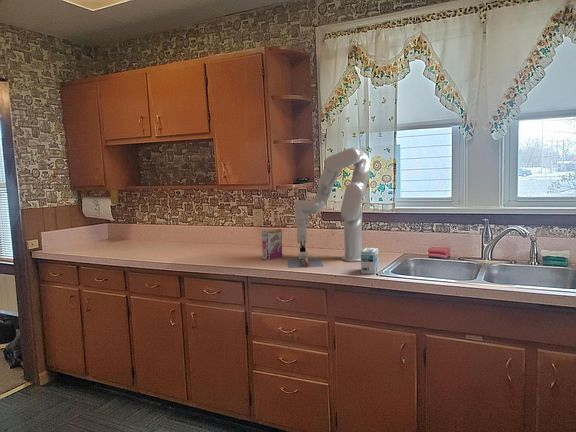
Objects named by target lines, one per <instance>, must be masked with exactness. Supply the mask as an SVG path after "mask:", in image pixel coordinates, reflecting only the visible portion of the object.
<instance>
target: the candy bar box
mask: <svg viewBox="0 0 576 432" xmlns="http://www.w3.org/2000/svg"><path fill="white" fill-rule="evenodd" d="M282 234H283V231H282V229H279V228H272V229H265V230H262V231H261V249H262V252H261V254H262V260H264V261H268V260H273V259H277V258H282V257H283V235H282Z"/></svg>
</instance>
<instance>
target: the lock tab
mask: <svg viewBox="0 0 576 432" xmlns="http://www.w3.org/2000/svg"><path fill="white" fill-rule="evenodd" d="M304 256H305V257H307V259H308V258H309V254H308V251H306V252H300V251H299V252H298V258H299V259H301V257H304Z"/></svg>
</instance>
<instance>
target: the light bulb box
mask: <svg viewBox="0 0 576 432" xmlns="http://www.w3.org/2000/svg"><path fill="white" fill-rule="evenodd" d="M379 254H380V253H379V248H378V247H376V248H375V247H365V248H362V251H361V261H360V262H361V263H360V264H361V265H360V266H361V272H360V273H361V274H368V275H370V274H371V275H376V273H377V272H379V270H380V259H379V258H380V255H379Z"/></svg>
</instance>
